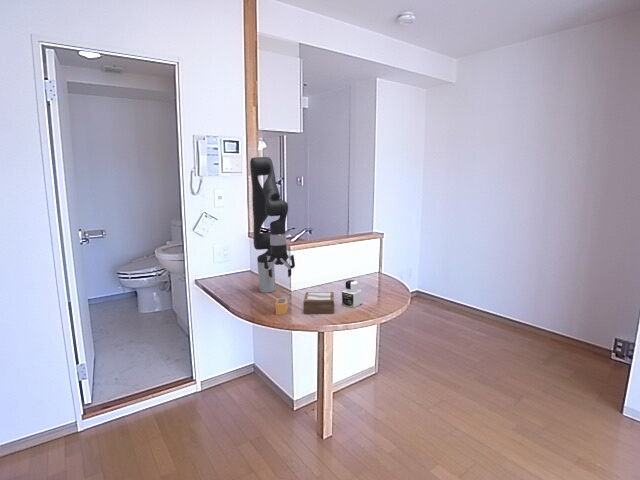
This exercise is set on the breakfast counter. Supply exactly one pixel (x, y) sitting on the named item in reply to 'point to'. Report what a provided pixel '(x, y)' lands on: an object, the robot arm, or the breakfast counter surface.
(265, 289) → the robot arm
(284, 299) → the block
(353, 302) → the medicine bottle
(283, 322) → the breakfast counter surface
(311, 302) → the brown square box
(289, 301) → the grey metal block
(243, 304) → the breakfast counter surface
